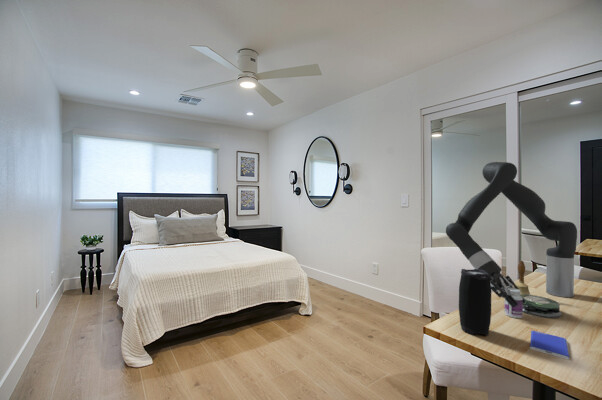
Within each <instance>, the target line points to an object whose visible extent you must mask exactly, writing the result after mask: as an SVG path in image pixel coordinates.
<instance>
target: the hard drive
mask: <svg viewBox="0 0 602 400" xmlns="http://www.w3.org/2000/svg"><path fill="white" fill-rule="evenodd" d="M529 341H530V343H529V349H530V350H532V351H537V352H540V353H544V354H547V355H551V356H555V357H559V358H562V359H565V358H566V359H567V360H570V354H569V348H568V343H567V342H568V341H567V339H566V338H565V337H561V336H558V335H553V334H550V333H545V332H541V331H538V330H537V331H536V330H531V332H530V340H529Z"/></svg>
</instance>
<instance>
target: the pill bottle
mask: <svg viewBox="0 0 602 400" xmlns="http://www.w3.org/2000/svg"><path fill="white" fill-rule="evenodd" d="M507 291H508V293H509V294H510V295H511V296H512V297H513V298H514V300H515V301H516V302H517V303H518V305H517V306H515V307H512V306H511V305H510V304H509V303H508V302H507V300H506V299H505V298H504V314H505V315H506V316H507V317H510V318H515V319H521V318H523V316H524V315H523V298H522V297H521V296H520V290H518V289H515V288H507Z"/></svg>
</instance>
